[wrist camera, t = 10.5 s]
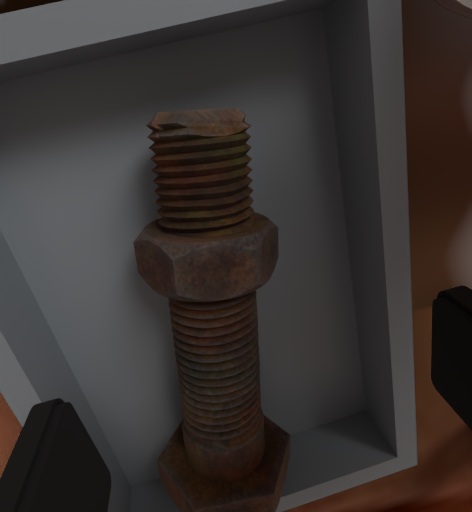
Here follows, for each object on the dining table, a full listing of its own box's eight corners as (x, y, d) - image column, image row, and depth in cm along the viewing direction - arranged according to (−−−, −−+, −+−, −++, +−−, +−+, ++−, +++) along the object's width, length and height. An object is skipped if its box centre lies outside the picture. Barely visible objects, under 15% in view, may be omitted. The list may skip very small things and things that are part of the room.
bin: (334, -24, 14) (399, -72, 10) (374, 405, 22) (417, 464, 18) (-99, 72, 12) (-209, 58, 9) (120, 488, 21) (112, 570, 17)
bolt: (207, 111, 15) (229, 409, 20) (81, 117, 12) (145, 465, 17) (327, 102, 11) (316, 481, 16) (178, 108, 8) (223, 571, 13)
